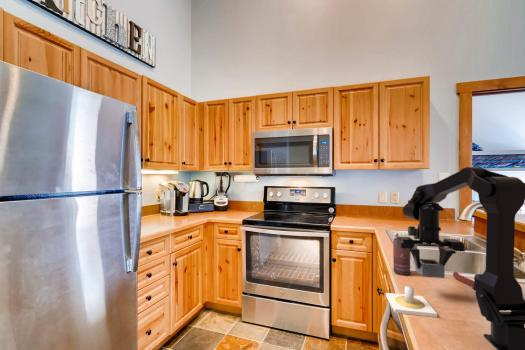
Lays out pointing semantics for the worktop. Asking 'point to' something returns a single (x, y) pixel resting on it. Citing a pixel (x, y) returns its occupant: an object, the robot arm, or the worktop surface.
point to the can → (401, 259)
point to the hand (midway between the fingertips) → (429, 269)
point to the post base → (411, 311)
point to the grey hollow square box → (431, 268)
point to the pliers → (464, 280)
